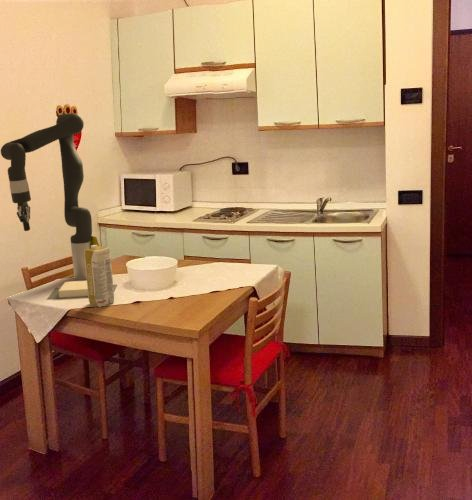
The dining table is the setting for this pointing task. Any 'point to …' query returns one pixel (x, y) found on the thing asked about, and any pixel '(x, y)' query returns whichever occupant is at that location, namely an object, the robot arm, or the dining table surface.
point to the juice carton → (99, 275)
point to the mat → (56, 296)
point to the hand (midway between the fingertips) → (27, 230)
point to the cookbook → (73, 289)
